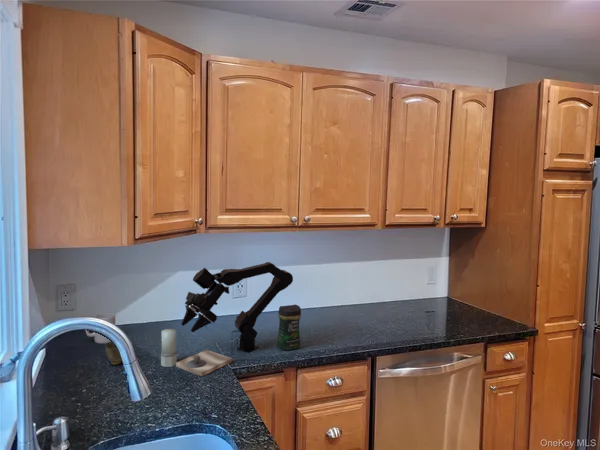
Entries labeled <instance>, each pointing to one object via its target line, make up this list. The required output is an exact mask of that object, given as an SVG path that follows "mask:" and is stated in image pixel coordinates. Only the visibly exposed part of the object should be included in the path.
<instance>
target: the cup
mask: <svg viewBox="0 0 600 450" xmlns="http://www.w3.org/2000/svg"><path fill="white" fill-rule="evenodd" d="M104 346H105V347H104V348H105V353H106V357H107V359H108V360H109V361H110V364H111V365H112V366H118V365H120V364H121V363H122V359H121V357H120V355H119V352H118V350H117V348H116V347H115V345H114V344H113V343H112V342H108V343H105V344H104Z"/></svg>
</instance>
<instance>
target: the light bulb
mask: <svg viewBox="0 0 600 450" xmlns="http://www.w3.org/2000/svg"><path fill="white" fill-rule="evenodd" d="M160 332H161V352H160V366H161V367H165V368H172V367H174V366H176V362H178V361H177V359H178V357H177V356H178V350H177V330H176V329H175V328H167V329H166V328H165V329H163V330H161V331H160Z"/></svg>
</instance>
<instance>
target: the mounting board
mask: <svg viewBox="0 0 600 450" xmlns="http://www.w3.org/2000/svg"><path fill="white" fill-rule="evenodd" d="M232 362H233V358H232V357H230V356H226V355H224V354H220V353H218V352H214V351H211V350H208V349H205V350H203V351H200V352H199V353H198V352H197V353H196V354H193V355H191V356H188V357H186V358H184V359H182V360H179V361H177V362H176V365H175V367H176V368H179V369H182V370H184V371H187V372H190V373H192V374H194V375H197V376H200V377H204V376H205V375H208V374H210V373H212V372H214V371H216V370H218V369H221V368H222V367H224V366H226V365H228V364H231V363H232Z"/></svg>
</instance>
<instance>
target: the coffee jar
mask: <svg viewBox="0 0 600 450" xmlns="http://www.w3.org/2000/svg"><path fill="white" fill-rule="evenodd" d="M301 311H302V310H301V307H300V305H297V304H290V305H289V304H288V305H281V306H279V308H278V311H277V313H278V318H279V327H278V332H277V333H278V334H277V340H276V341H277V342H276V346H277V347H278V349H279V350H282V351H292V350H297V349H299V348H300V346H301V336H300V321H301V316H302V312H301Z"/></svg>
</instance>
